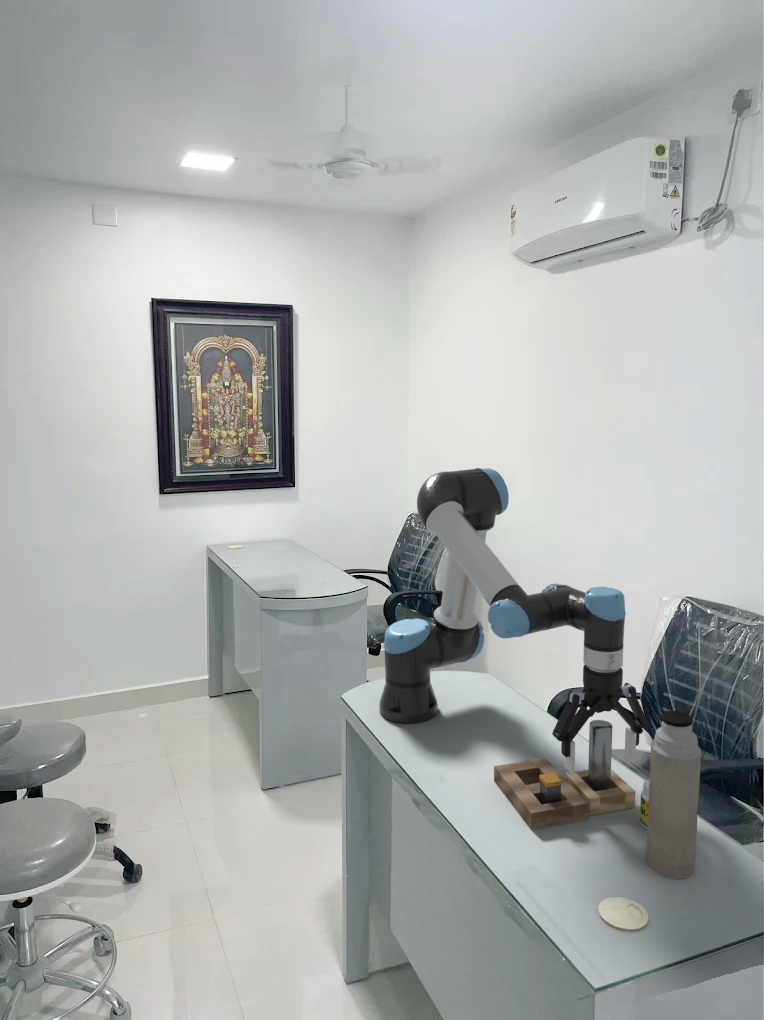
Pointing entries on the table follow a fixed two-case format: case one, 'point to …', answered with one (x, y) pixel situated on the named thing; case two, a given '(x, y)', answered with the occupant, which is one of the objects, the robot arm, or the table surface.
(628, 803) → the frame
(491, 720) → the table surface
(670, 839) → the thermos bottle
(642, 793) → the supplement bottle
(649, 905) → the table surface
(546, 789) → the key
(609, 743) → the grey metal cylinder
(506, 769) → the socket block
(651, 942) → the table surface
